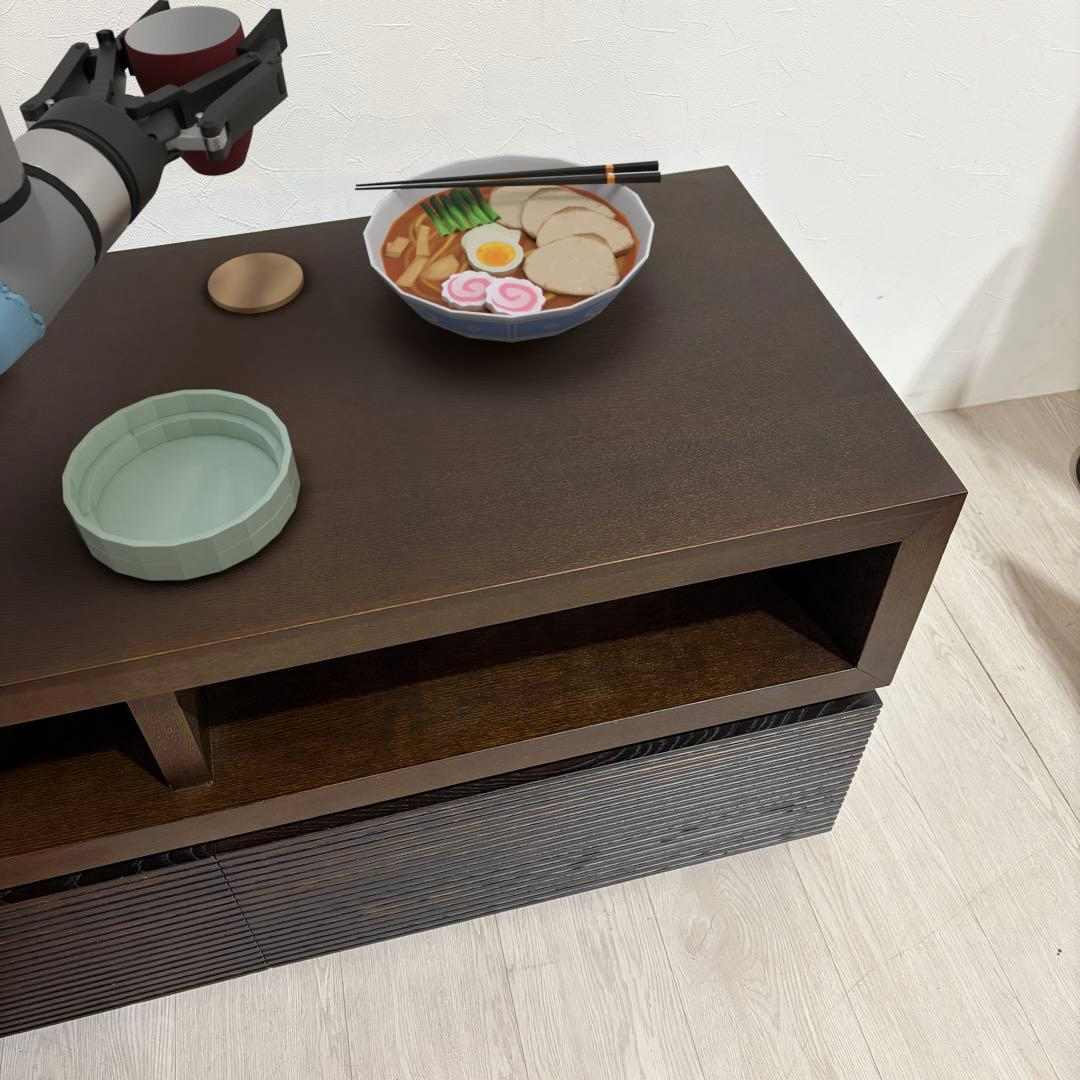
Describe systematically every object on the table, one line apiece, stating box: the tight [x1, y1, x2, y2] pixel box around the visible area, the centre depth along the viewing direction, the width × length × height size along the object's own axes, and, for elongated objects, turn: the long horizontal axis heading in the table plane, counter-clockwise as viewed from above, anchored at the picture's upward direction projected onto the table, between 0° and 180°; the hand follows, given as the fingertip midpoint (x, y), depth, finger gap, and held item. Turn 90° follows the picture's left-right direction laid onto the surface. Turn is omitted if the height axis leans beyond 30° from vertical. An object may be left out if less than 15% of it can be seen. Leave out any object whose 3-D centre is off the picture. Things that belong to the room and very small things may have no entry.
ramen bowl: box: [354, 153, 662, 343], centre depth 88 cm, size 25×23×8 cm
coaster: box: [207, 252, 305, 314], centre depth 94 cm, size 8×8×1 cm
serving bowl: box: [61, 388, 301, 581], centre depth 75 cm, size 15×15×4 cm
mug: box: [124, 5, 255, 177], centre depth 80 cm, size 11×8×10 cm
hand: (223, 23), depth 81 cm, fingers closed on mug, 8 cm apart
